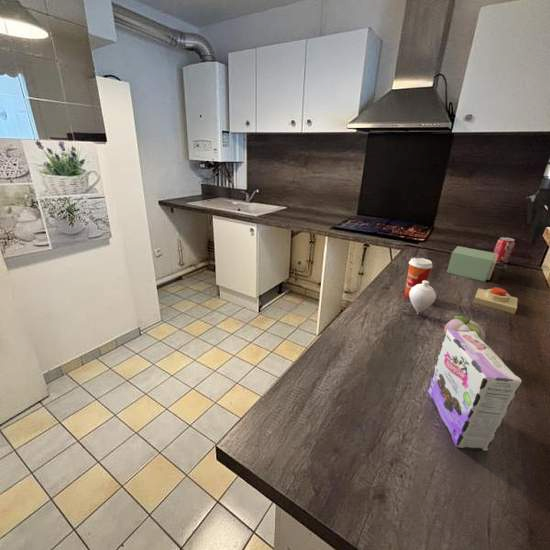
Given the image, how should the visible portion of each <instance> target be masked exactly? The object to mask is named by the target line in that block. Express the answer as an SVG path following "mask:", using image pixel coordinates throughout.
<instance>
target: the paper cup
mask: <svg viewBox="0 0 550 550" xmlns="http://www.w3.org/2000/svg"><path fill="white" fill-rule="evenodd" d="M433 267H434V266H433V262H432V261H431V260H430V259H427V258H423V257H411V258H410V260H409V261H408V270H407V276H406V282H405V290H404V296H405V297H406V298H407V299H410V297H409V292H410V290H411V288H412V287H414V286H415V285H417V284H422V281H424V280H425V281H428V278H429V275H430V272H431V270H432V268H433Z"/></svg>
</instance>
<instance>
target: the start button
mask: <svg viewBox="0 0 550 550" xmlns="http://www.w3.org/2000/svg"><path fill="white" fill-rule="evenodd" d="M491 289H492V291H491V293H493V294H495V295H498V296H505V294H506V293H507V290H505V289H504V288H501V287H497V286H496V287H495V286H494V287H492V288H491Z"/></svg>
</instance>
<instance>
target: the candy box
mask: <svg viewBox="0 0 550 550" xmlns="http://www.w3.org/2000/svg"><path fill="white" fill-rule="evenodd" d="M521 384H522V379H521V378H520V377H519V376H517V375H516V374H515V373H514V371H512V370H511V369H510V367H508V365H507V364H506V363H505V362H504V361H503V360H502V359H501V358H500V357H499V356H498V355H497V354H496V352H494V350H493V349H492V348H491V347H490V346H489V345H488V344H487V343H486V342H485V341H483V340H482V339H481V338H480V337H479V336H478V334H477V333H476V332H475V331H462V330H446V333H445V332H444V337H443V340H442V344H441V347H440V349H439V353H438V357H437V359H436V363H435V366H434V368H433V371H432V375H431V378H430V383H429V384H428V388H427V393H428V395H429V397H430V399H431V401H432V403H433V405H434V407H435V409H436V410H437V413H438V415H439V416H440V418H441V420H442V422H443V423H444V426H445V428H446V430H447V432H448V434H449V436H450V437H451V440H452V442H453V443H454V445H455V448H461V449H466V450H467V449H468V450H475V451H481V452H482V451H483V452H488V451H489V448H490V446H491V444H492V442H493V441H494V438H495V435H496V434H497V432H498V430H499V428H500V426H501V424H502V422H503V420H504V418H505V416H506V414H507V412H508V410H509V408H510V406H511V404H512V402H513V400H514V398H515V396H516V394H517V392H518V390H519V388H520V386H521Z"/></svg>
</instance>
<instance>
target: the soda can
mask: <svg viewBox="0 0 550 550" xmlns="http://www.w3.org/2000/svg"><path fill="white" fill-rule="evenodd" d="M515 240H516V239H514V238H511V237H505V236H501V237H499V239H498V240H497V242H496V244H495V247H494V250H493V252H492V253H495V255H494V256H498V257H497V260H496V263H497V264H502V265H503V264H504V263H505V264H508V263H509V261H510V259H511V256H512V254H513V251H514V248H515V245H516V242H515Z"/></svg>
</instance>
